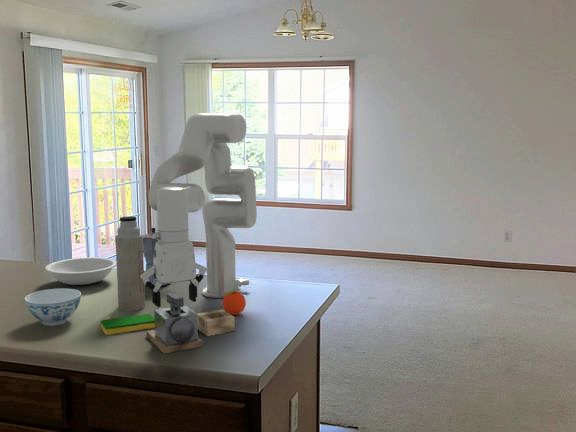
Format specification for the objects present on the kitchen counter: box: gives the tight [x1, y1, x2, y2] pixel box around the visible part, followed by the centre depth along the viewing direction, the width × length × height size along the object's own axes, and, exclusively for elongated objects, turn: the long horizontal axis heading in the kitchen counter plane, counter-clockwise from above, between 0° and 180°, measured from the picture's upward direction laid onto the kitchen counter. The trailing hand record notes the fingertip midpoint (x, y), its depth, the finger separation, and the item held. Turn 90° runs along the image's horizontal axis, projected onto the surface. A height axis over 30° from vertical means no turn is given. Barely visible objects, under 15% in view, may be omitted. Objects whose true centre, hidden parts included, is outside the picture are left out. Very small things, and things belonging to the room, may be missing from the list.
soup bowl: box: [44, 256, 117, 286], centre depth 217 cm, size 24×24×7 cm
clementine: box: [222, 291, 247, 316], centre depth 181 cm, size 8×7×7 cm
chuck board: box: [146, 329, 203, 354], centre depth 159 cm, size 10×14×2 cm
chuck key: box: [166, 291, 185, 315], centre depth 157 cm, size 6×3×11 cm, turn 30°
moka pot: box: [142, 227, 168, 287], centre depth 214 cm, size 10×15×20 cm, turn 95°
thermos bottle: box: [115, 216, 146, 312], centre depth 187 cm, size 8×8×28 cm
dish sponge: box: [100, 313, 155, 335], centre depth 170 cm, size 7×14×2 cm, turn 117°
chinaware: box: [24, 288, 82, 327], centre depth 174 cm, size 15×15×8 cm
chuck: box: [153, 304, 199, 346], centre depth 160 cm, size 19×8×7 cm, turn 30°
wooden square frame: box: [197, 308, 236, 337], centre depth 168 cm, size 8×8×4 cm
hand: (175, 303), depth 156 cm, fingers open, 9 cm apart
